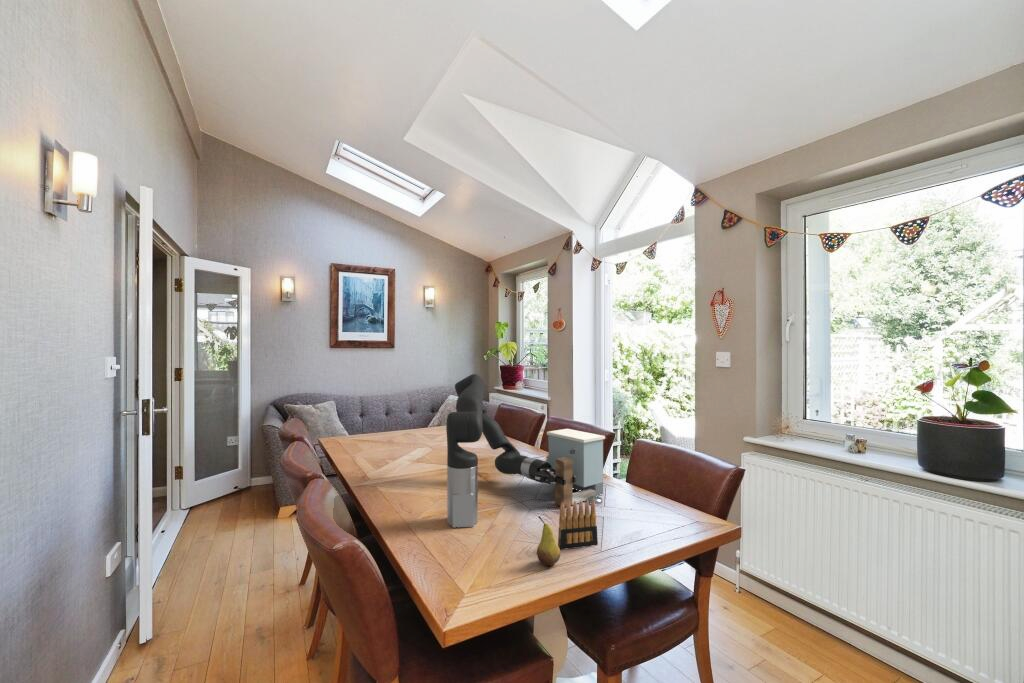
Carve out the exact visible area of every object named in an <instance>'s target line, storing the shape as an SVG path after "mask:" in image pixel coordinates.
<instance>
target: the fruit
mask: <svg viewBox="0 0 1024 683" xmlns="http://www.w3.org/2000/svg"><path fill="white" fill-rule="evenodd" d="M537 518H539V519H540V520H541V522H542V523H543V527H542V531H541V532H542V533H541V539H540V542H539V544H538V546H537V549H536V556H537V559H538V561H539V563H540V564H543V565H545V566H553V565H555V564H557V562H558V561H559V560H560V558H561V549H560V548H559V546H558V542H557V541H556V537H555V534H554V530H553V528H552V527H551V525H549V524H548V523H546V522H545V521H544V520H543V519H542V518H541V516H540V515H538V517H537Z"/></svg>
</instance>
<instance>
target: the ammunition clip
mask: <svg viewBox="0 0 1024 683" xmlns="http://www.w3.org/2000/svg"><path fill="white" fill-rule="evenodd" d="M583 503H584V502H582V501H580V503H577V504H576V501H574V504H573V505H570V503H569V502H568V503H567V507H566V509H565V507H564V504H563V502H562V503H561V506H559V519H558V521H559V522H558V525H559V527H558V535H557V536H558V538H557V545H558V546H559V549H560V550H566V549H565V548H568V549H574V547H577V548H583V547H582V546H586V547H591V545H594V546H598V545H599V540H598V539H599V538H598V525H597V514H596V512H597V511H596V505H595V502H594V500H592V503H591V504H589V503H588V500H586V501H585V505H584V504H583ZM578 504H579V505H578ZM571 506H572V508H571ZM565 510H566V511H565Z"/></svg>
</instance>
